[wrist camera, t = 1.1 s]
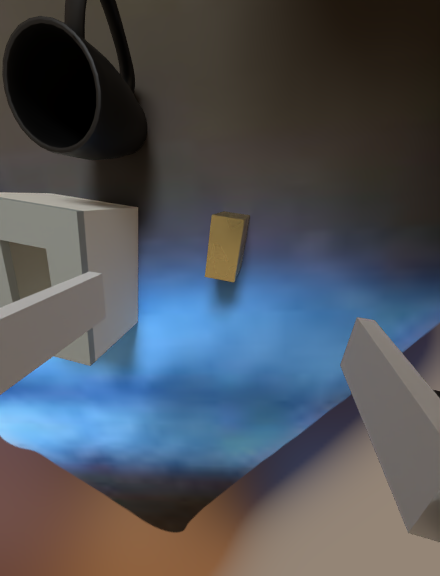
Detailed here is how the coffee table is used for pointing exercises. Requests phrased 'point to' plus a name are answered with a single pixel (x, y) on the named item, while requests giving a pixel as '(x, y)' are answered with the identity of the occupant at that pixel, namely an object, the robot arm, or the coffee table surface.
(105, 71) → the mug
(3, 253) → the box
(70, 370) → the coffee table surface
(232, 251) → the tall tan block
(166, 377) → the coffee table surface
